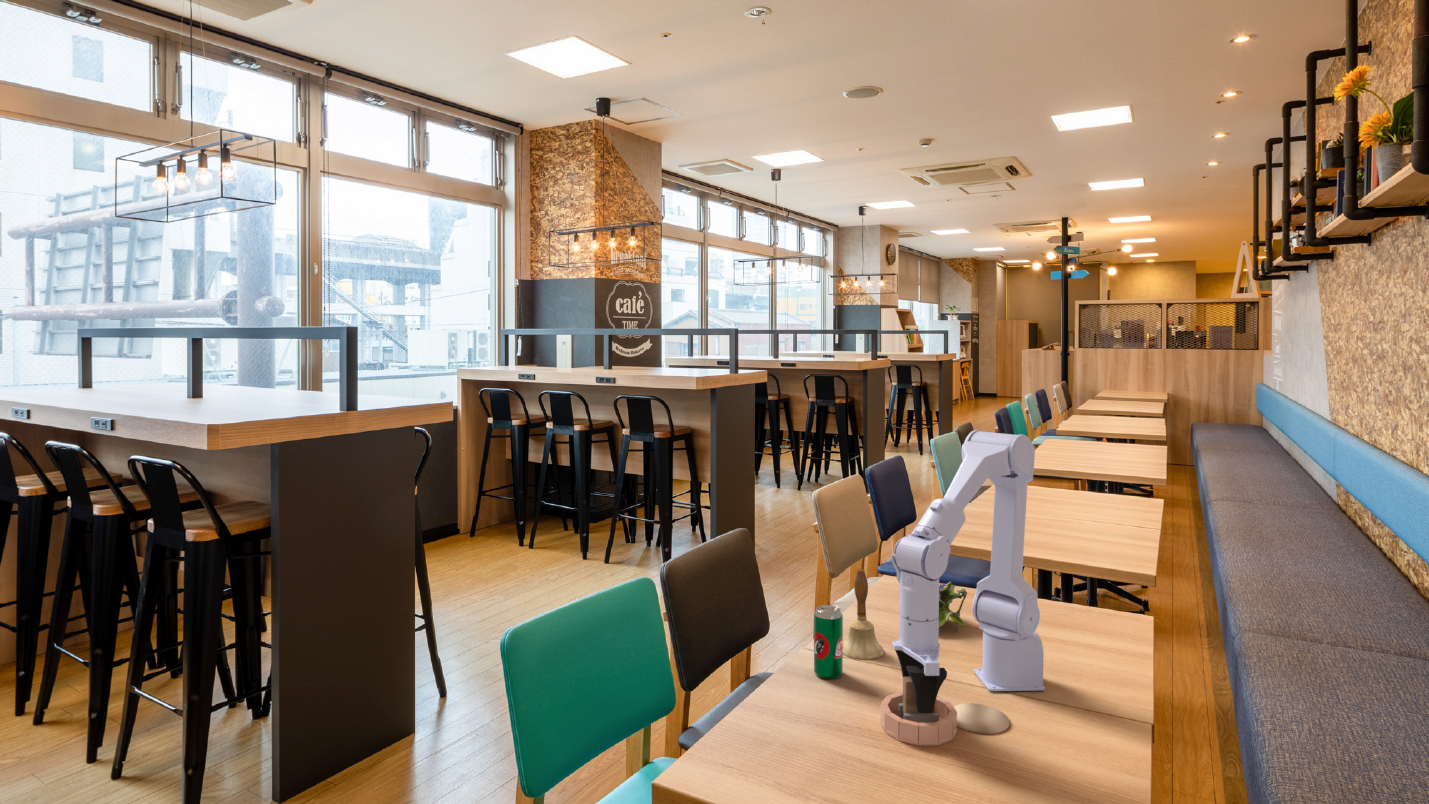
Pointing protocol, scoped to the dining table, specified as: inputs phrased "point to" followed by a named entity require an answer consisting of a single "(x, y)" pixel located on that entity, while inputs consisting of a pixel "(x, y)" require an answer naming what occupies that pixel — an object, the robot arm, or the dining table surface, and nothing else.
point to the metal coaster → (981, 718)
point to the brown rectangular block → (909, 697)
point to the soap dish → (919, 722)
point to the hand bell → (862, 627)
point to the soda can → (828, 642)
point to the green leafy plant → (945, 599)
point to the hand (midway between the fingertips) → (918, 701)
